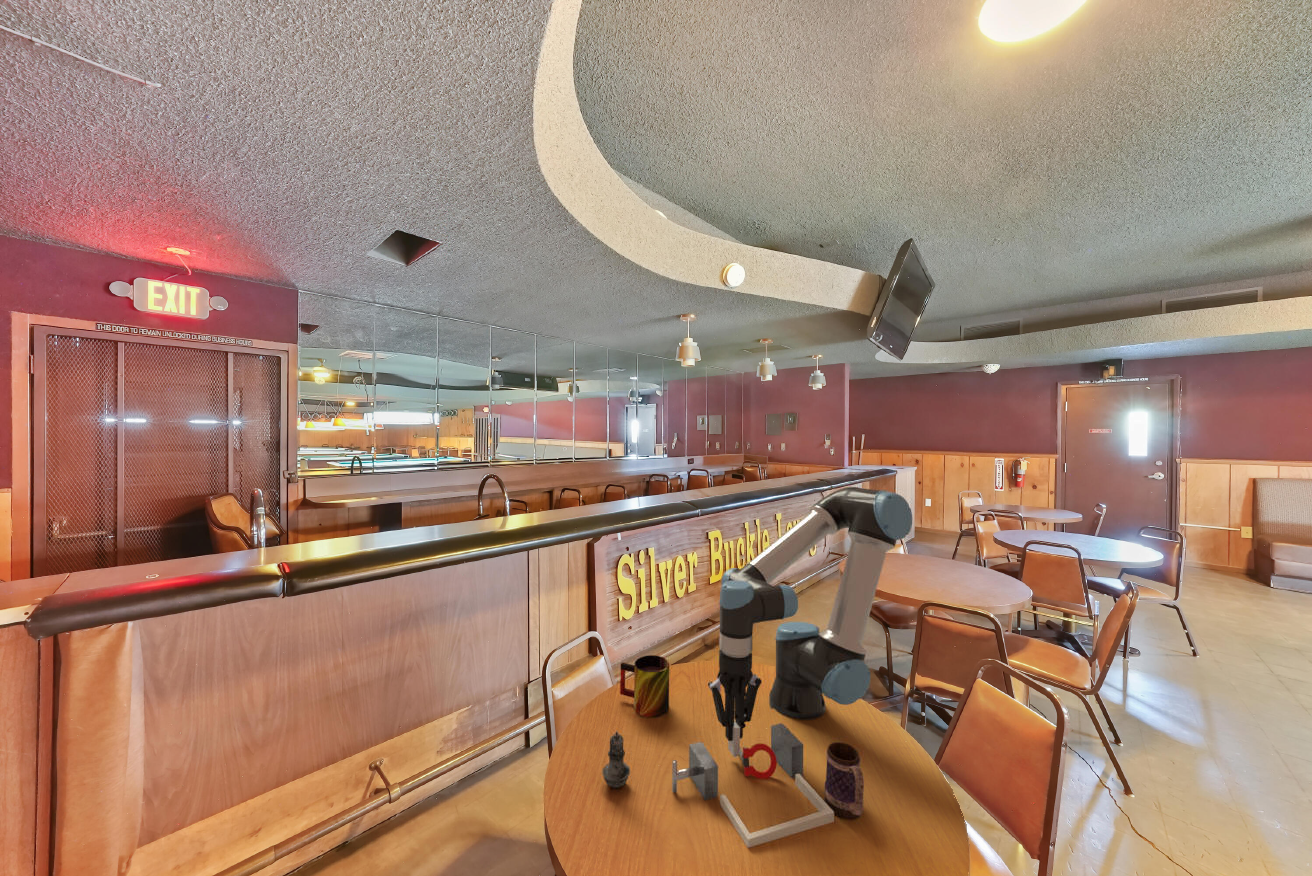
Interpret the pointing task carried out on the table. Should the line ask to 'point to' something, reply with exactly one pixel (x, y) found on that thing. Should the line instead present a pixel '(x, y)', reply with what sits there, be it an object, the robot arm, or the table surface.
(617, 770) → the chess piece
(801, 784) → the corral
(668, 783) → the table surface
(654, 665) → the mug
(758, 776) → the tow hook
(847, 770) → the mug
